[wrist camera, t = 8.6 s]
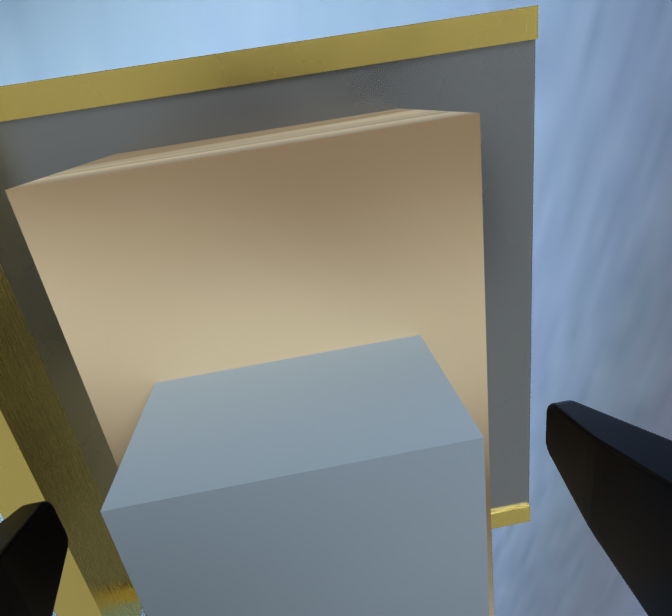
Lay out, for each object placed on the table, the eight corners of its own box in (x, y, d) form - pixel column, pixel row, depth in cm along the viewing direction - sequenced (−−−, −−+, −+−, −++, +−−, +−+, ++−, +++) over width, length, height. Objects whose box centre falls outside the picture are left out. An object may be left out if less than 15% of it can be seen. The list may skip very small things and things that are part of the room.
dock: (479, 26, 13) (594, -16, 8) (490, 456, 18) (562, 574, 14) (-35, 105, 12) (-222, 106, 8) (136, 525, 18) (88, 673, 13)
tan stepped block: (114, 154, 10) (5, 190, 6) (399, 108, 10) (480, 113, 6) (234, 541, 15) (217, 715, 10) (433, 501, 15) (495, 655, 11)
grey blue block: (155, 382, 7) (100, 511, 5) (420, 335, 8) (483, 437, 5) (231, 609, 9) (217, 776, 7) (439, 567, 9) (492, 715, 7)
